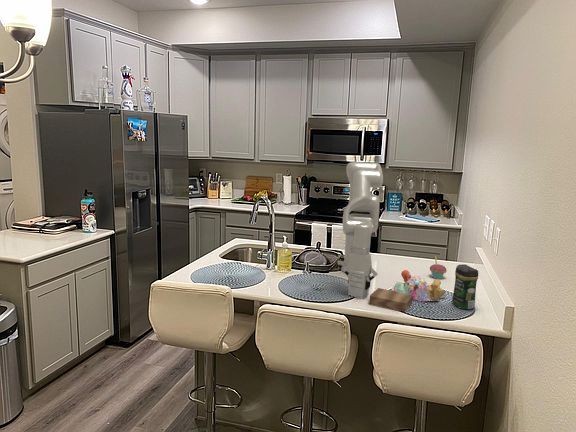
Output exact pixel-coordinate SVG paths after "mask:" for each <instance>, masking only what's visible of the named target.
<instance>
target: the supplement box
mask: <svg viewBox="0 0 576 432" xmlns="http://www.w3.org/2000/svg"><path fill="white" fill-rule="evenodd" d="M366 281H367V279H366V277H365V272H361V271H356V270H351V269H350V272H349V284H348V290H347V296H349V295H351V296H350V297H353V296H354V297H353V298H357V299H361V300H363V299H364V298H366V297H367V296H368V295H369V294H370V293H369V292H370V288H369V289H368V290H366Z"/></svg>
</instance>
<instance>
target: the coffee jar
mask: <svg viewBox="0 0 576 432" xmlns="http://www.w3.org/2000/svg"><path fill="white" fill-rule="evenodd" d="M454 274H455V278H454V279H455V281H454V287H453V293H452V300H451V303H452V304H453V305H454V306H455V305H456V307H457V308H459V307H460V308H459V309H461V308H462V310H466V309H470V310H473V309H475V307H476V290H477V283H478V279H479V270H477V269H476V268H474V267H471V266H470V265H467V264H466V263H465V264H464V263H463V264H458V265H456V267H455V273H454Z"/></svg>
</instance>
